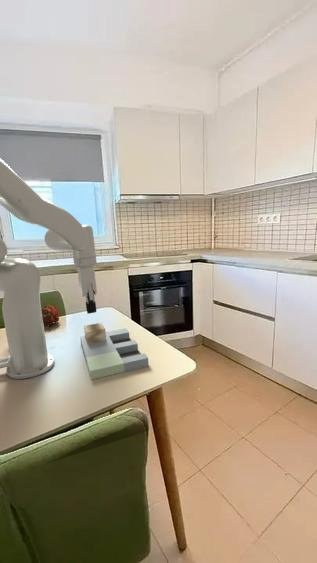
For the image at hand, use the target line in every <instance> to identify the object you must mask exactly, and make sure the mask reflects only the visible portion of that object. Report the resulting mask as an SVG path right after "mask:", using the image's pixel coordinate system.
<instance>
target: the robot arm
mask: <svg viewBox="0 0 317 563" xmlns="http://www.w3.org/2000/svg"><path fill="white" fill-rule="evenodd" d="M0 206H2V207H3V208H4V209H5V210H7V211H8V212H9V213H10V214H11V215H12V216H14V218H17V220H20V221H23V222H24V223H28V224H32V225H35V226H39V227H42V228H45V229H46V232H45V234H44V243H45V245H46V246H47V247H48V248H50V249H51V250H53V251H59V252H72V257H73V265H74V268H75V269H77V274H78V275H77V277H78V286H79V292H80V295H81V297H83V298H85V306H86V307H85V308H86V313H87V314H94V313H97V303H96V300H95V296H96V295H97V294H98V291H97V282H96V281H97V280H96V273H95V267H96V266H97V265H98V262H97V256H96V255H97V254H96V253H97V252H96V247H95V246H96V245H95V237H94V229H93V227H92V226H91V225H89V224H82V223H81V222H80V221H78V220H77V219H76V217H74V215H73V214H71V213H70V212H68V211H67V210H65V209H64V208H62V207H60V206H59V205H57V204H55V203H53V202H52V201H49V200H48V199H45V198H44V197H41V195H39V194H38V193H37V192H36V191H35V190H33V188H32V187H31V186H30V185H28V183H27V182H25V181H24V180H23V179H22V178H21V177H20V176H19V174H17V172H15V171H14V170H13V169H12V168H11V167H10V166H9V165H8V164H7V163H6V162H5V161H4V160H2V159H1V158H0ZM7 256H8V247H7V245H6V243H5V240H4V239H3V238H2V237H1V236H0V292H1V293H3V299H2V307H1V310H2V318H3V324H4V327H5V328H4V329H5V332H6V333H5V335H6V340H7V346H8V351H9V355H8V356H6V357H4V358H0V369H3V368H6V369H5V370H6V375H7V377H9V378H11V379H16V380H17V379H19V380H21V379H22V380H24V379H29V378H34V377H37V376H39V375H42V374H44V373H45V372H47V371H49V370H51V368H53V366H54V364H55V358H54V356H53V355H52V354H49V352H48V348H47V341H46V334H45V326H44V325H45V324H43V318H42V312H41V309H42V306H41V274H40V270H39V269H38V267H37V265H35V263H33V262H31V261H30V260H28V259H26V258H25V259H24V258H19V257H18V258H16V257H15V258H14V257H7Z"/></svg>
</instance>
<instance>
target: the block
mask: <svg viewBox="0 0 317 563" xmlns="http://www.w3.org/2000/svg"><path fill="white" fill-rule="evenodd" d="M83 330H84V336H85V338H86V341H87V344H90V343H95V342H100V341H105V340H106V332H107V331H106V328H105V326H104V324H103V322H98V323H93V324H87V325H84V326H83Z"/></svg>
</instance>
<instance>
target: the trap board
mask: <svg viewBox="0 0 317 563" xmlns="http://www.w3.org/2000/svg"><path fill="white" fill-rule="evenodd" d="M105 332H106V340H105V341H100V342H95V343H90V344H87V341H86V338H85V335H83V336H79V338H80V346H81V349H82V353H83V356H84V359H85V363H86V366H87V370H88V374H89V377H90V380H95V379H99V378H104V377H108V376H112V375H116V374H121V373H125V372H129V371H133V370H137V369H142V368H145V367H149V357H148V356H147V354H146V353H145V352H144V353H141V352H140V351H139V345H138V344H139V343H138V342H137V341H136V340H135V339H133V340H132V339H131V338H130V331H129V330H128V329H127V327H125V328H120V329H116V330H115V329H114V330H110V331H105Z"/></svg>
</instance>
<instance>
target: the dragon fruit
mask: <svg viewBox="0 0 317 563" xmlns="http://www.w3.org/2000/svg"><path fill="white" fill-rule="evenodd" d="M41 312H42V318H43V325H46V326H52V325H54V323H55V324H56V323H58V322H59V321H60V310H59V309H58V308H57V307H56V306H53V305H51V304H47V305H46V306H44V307H41Z"/></svg>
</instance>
